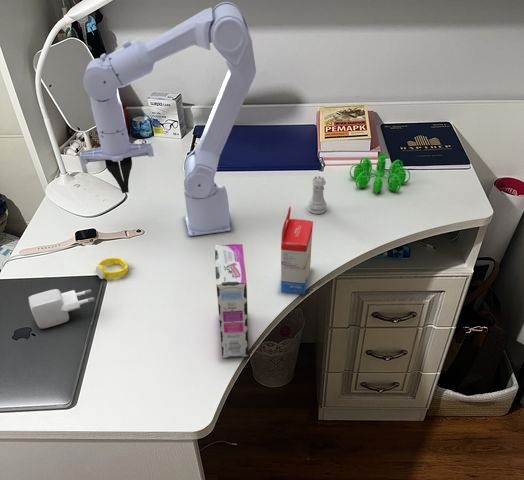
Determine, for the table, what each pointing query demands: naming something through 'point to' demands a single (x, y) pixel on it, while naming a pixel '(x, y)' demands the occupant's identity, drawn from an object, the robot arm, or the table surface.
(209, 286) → the table surface
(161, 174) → the table surface
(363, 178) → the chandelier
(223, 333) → the candy bar box
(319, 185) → the rook chess piece
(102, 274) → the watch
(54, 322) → the power adapter
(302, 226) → the ink box
